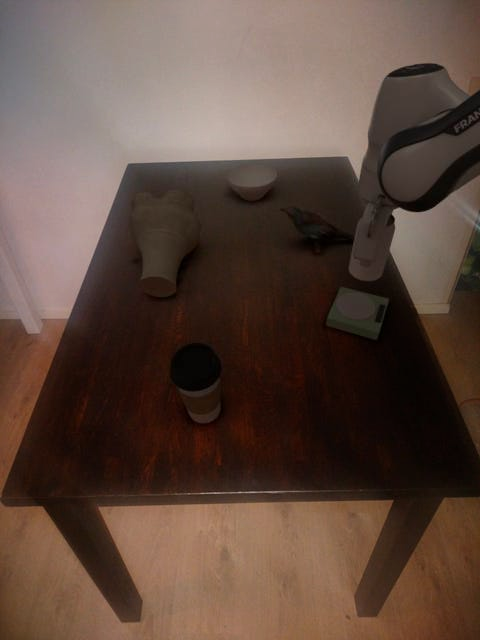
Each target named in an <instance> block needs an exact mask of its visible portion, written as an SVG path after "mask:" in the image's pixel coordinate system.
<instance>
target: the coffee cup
mask: <svg viewBox="0 0 480 640" xmlns="http://www.w3.org/2000/svg"><path fill="white" fill-rule="evenodd" d="M222 366H223V365H222V363H221V360H220V357H219V356H218V354H217V353H216V351H215V350H214V349H213V348H212V347H211V346H210V345H209V344H205V343H203V342H192V343H191V342H190V343H189V344H188V343H187V344H185V345H183V346H182V347H180V348H179V349H177V351H176V352H175V353H174V355H173V356H172V358H171V362H170V367H169V376H170V379H171V381H172V383H173V385H175V387H176V390H177V392H178V394H179V396H180V398H181V400H182V402H183V404H184V406H185V408H186V410H187V413H188V414H189V416H190V418H191V419H192V420H193V421H194V422H195V423H197V424H209V423H211V422H213V421H215V420H216V419H217V418H218V417H219V414H220V412H221V392H222V391H221V389H222V388H221V387H222V386H221V385H222V383H221V382H222V381H221V380H222V377H221V376H222V375H221V374H222V370H223V369H222Z"/></svg>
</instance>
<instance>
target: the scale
mask: <svg viewBox="0 0 480 640" xmlns="http://www.w3.org/2000/svg"><path fill="white" fill-rule="evenodd" d="M389 301H390V299H389V298H387V297H384V296H380V295H375V294H371V293H368V292H364V291H359V290H355V289H352V288H348V287H344V286H340V287H339V289H338V291H337V294H336V296H335V298H334V301H333V303H332V304H331V305H332V306H331V308H330V310H329V312H328V315H327V317H326V322H325V326H326V327H330V328H333V329H336V330H338V331H339V330H340V331H343V332H346V333H350V334H354V335H357V336H361V337H364V338H367V339H371V340H374V341H377V340H378V338H379V335H380V332H381V329H382V325H383V321H384V317H385V315H386V311H387V307H388V305H389Z"/></svg>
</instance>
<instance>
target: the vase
mask: <svg viewBox="0 0 480 640" xmlns="http://www.w3.org/2000/svg"><path fill="white" fill-rule="evenodd" d="M130 207H131V209H132V212H131V214H130V217H129V231H130V235H131V237H132V240H133V241H134V242H135V244H136V245H137V247H138V249H139V251H140V253H141V254H140V255H141V260H142V261H141V262H142V271H141V272H142V273H141V277H140V279H139V288H140V290H141V291H143V292H144V293H145V294H147V295H150V296H151V297H156V298H168V297H170V296H173V295H174V294H175V293H176V292H177V291H178V290H177V288H178V287H177V277H178V271H179V269H180V268H179V267H180V265H181V263H182V260H183V259H184V258H185V257H186V255H188V254H189V253H191V252H192V251H193V250H194V249H195V247H197V245H198V243H199V241H200V238H201V230H202V227H203V225H202V222H201V220H200V219H199V218H198V217H196V216H195V214H194V209H195V199H194V197H192V196H191V194H189V193H187V192H186V191H183V190H179V189H169V190H167V191H166V192H165V193H164V195H163V196H162V197H161V198H158V197H156V196H155V195H153V194H152V193H149V192H145V191H144V192H143V191H142V192H139V193H135V194H134V195H133V197H132V198H131V199H130Z"/></svg>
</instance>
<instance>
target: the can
mask: <svg viewBox="0 0 480 640" xmlns="http://www.w3.org/2000/svg"><path fill="white" fill-rule="evenodd" d="M364 213H365V211H364V212H363V213H362V214H361V216H360V217H361V218H359V220H358V221H357V224H356V228H355V234H354V236H355V239H354V241H353V244H352V249H351V254H350V259H349V263H348V272H349V273H350V275H351V277H353V278H355V280H358V281H362V282H374V281H377V280H378V279H380V278H381V277H382V276H383V274H384V271H385V267H386V263H387V260H388V257H389V253H390V249H391V246H392V242H393V239H394V235H395V231H396V223H395V222H396V217H395V216H394V214H393V213H392V214H391V216H390V219H389V222H388V224H387V227H386V231H385V234H384V238H383V241H382V244H381V246H380V249H379V252H378V255H377V257H376V260H375V261H374V262H371V264H370V266H369V267H364V266H361V265H360V261H361V260H357V259H355V258H354V256H353V253H354V248H355V244H356V239H357V235H358V231H359V227H360V223H361V220H362V217H363V215H364Z"/></svg>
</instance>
